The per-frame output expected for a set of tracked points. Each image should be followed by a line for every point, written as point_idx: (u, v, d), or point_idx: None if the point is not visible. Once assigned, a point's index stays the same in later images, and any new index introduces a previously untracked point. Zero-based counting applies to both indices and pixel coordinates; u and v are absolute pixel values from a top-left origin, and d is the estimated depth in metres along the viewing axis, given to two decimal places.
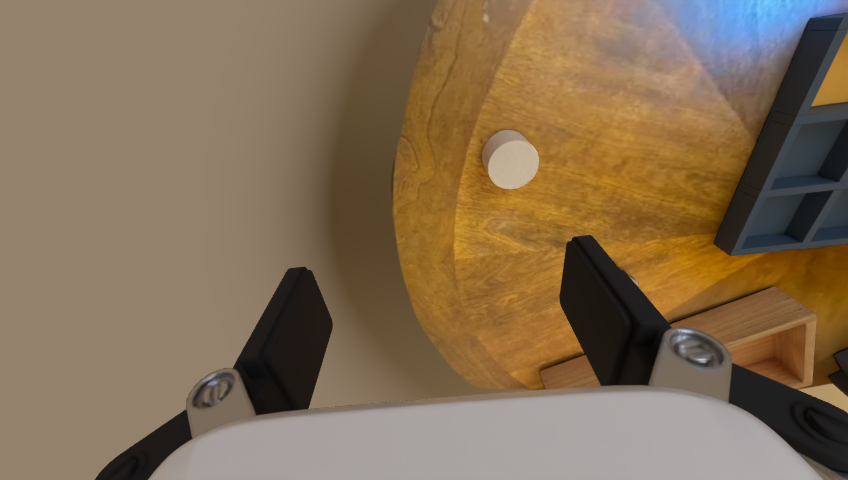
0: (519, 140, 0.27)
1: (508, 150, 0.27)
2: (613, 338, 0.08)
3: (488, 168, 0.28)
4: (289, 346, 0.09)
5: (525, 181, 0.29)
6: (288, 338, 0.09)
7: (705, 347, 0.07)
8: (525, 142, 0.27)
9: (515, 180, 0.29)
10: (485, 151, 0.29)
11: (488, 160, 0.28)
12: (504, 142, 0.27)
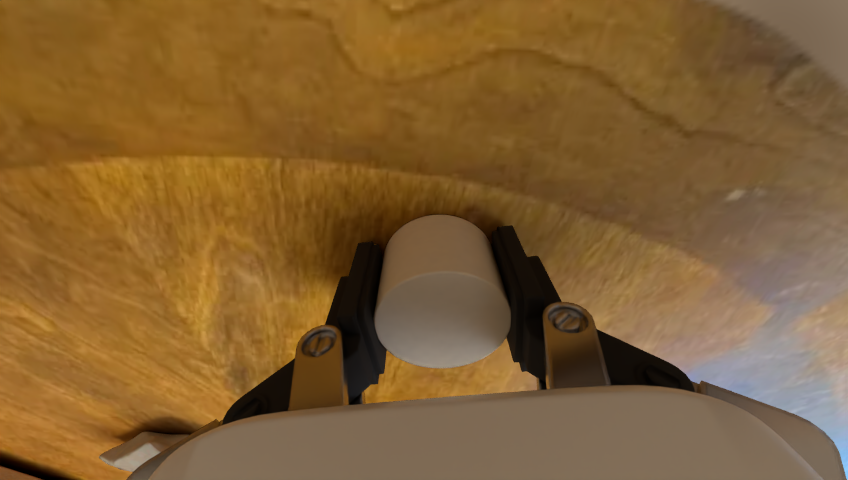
0: None
1: (487, 311, 0.10)
2: (513, 314, 0.10)
3: (436, 272, 0.09)
4: (372, 309, 0.10)
5: (399, 352, 0.11)
6: (371, 302, 0.10)
7: (573, 314, 0.08)
8: (502, 339, 0.11)
9: (400, 334, 0.10)
10: (458, 233, 0.11)
11: (458, 267, 0.09)
12: (507, 298, 0.10)
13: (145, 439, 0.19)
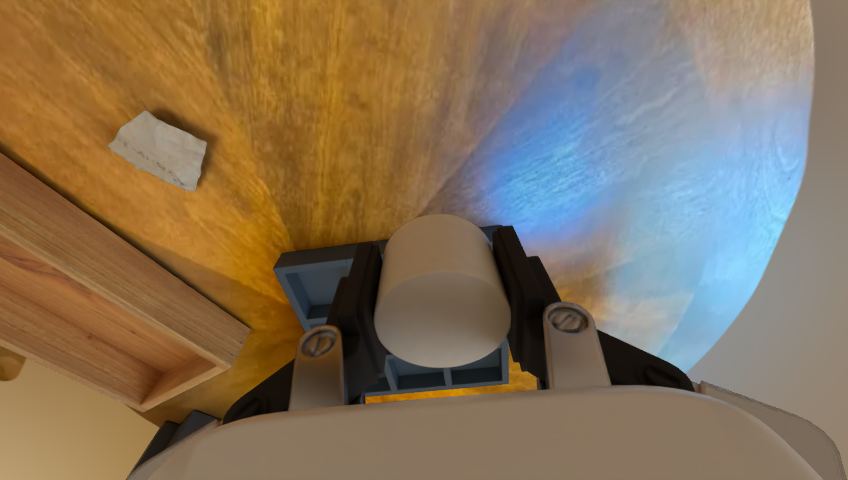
0: None
1: (487, 311, 0.10)
2: (513, 314, 0.10)
3: (436, 272, 0.09)
4: (372, 309, 0.10)
5: (399, 352, 0.11)
6: (371, 302, 0.10)
7: (573, 314, 0.08)
8: (502, 339, 0.11)
9: (399, 334, 0.10)
10: (458, 232, 0.11)
11: (458, 266, 0.09)
12: (506, 297, 0.10)
13: None
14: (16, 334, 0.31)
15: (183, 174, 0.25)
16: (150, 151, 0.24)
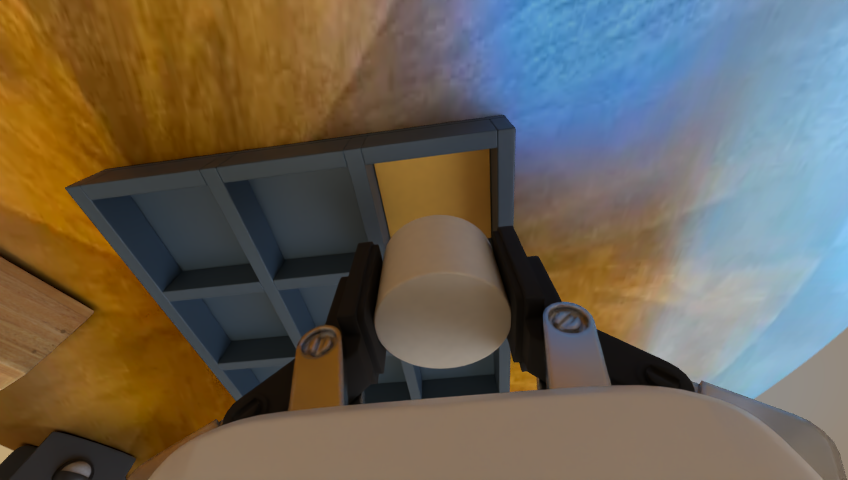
0: None
1: (487, 312, 0.10)
2: (513, 314, 0.10)
3: (436, 273, 0.09)
4: (372, 309, 0.10)
5: (399, 353, 0.11)
6: (371, 302, 0.10)
7: (573, 314, 0.08)
8: (502, 340, 0.11)
9: (400, 335, 0.10)
10: (458, 233, 0.11)
11: (458, 267, 0.09)
12: (507, 298, 0.10)
13: None
14: None
15: None
16: None
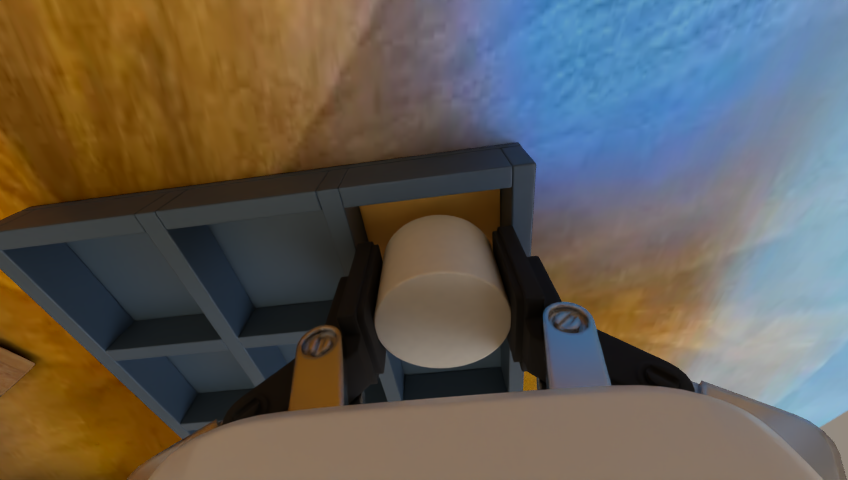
0: None
1: (487, 311, 0.10)
2: (513, 314, 0.10)
3: (436, 273, 0.09)
4: (372, 309, 0.10)
5: (399, 352, 0.11)
6: (371, 302, 0.10)
7: (573, 314, 0.08)
8: (502, 339, 0.11)
9: (400, 334, 0.10)
10: (458, 233, 0.11)
11: (458, 267, 0.09)
12: (507, 298, 0.10)
13: None
14: None
15: None
16: None
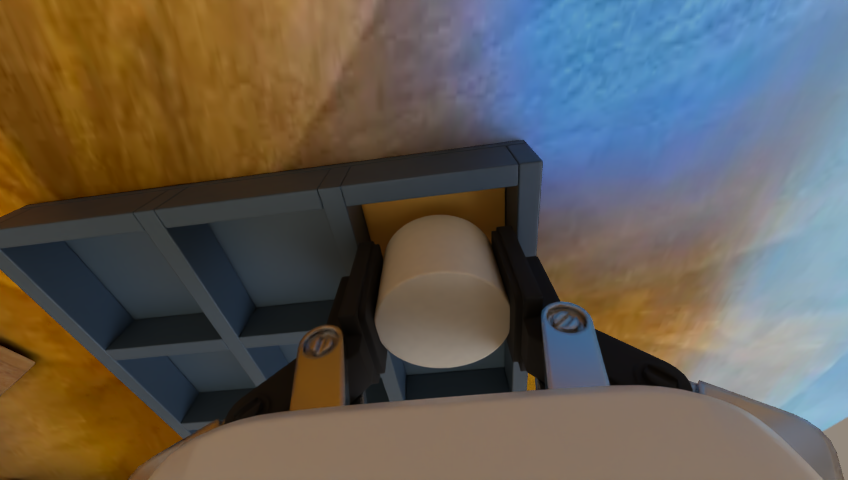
0: None
1: (487, 311, 0.10)
2: (512, 314, 0.10)
3: (437, 272, 0.09)
4: (373, 309, 0.10)
5: (400, 352, 0.11)
6: (372, 302, 0.10)
7: (571, 314, 0.09)
8: (503, 339, 0.11)
9: (400, 335, 0.10)
10: (458, 233, 0.11)
11: (459, 267, 0.09)
12: (507, 298, 0.10)
13: None
14: None
15: None
16: None
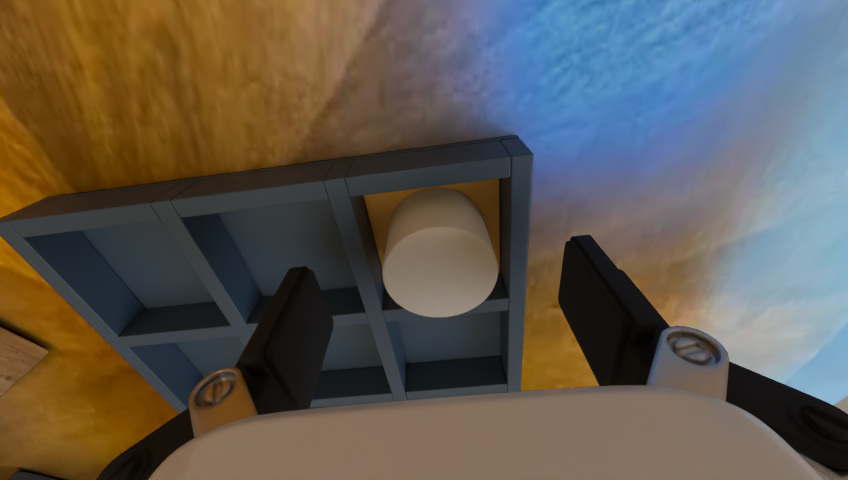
0: None
1: (477, 263, 0.12)
2: (611, 337, 0.08)
3: (434, 228, 0.11)
4: (291, 345, 0.09)
5: (403, 302, 0.13)
6: (290, 337, 0.09)
7: (702, 346, 0.07)
8: (490, 290, 0.13)
9: (404, 285, 0.12)
10: (453, 201, 0.13)
11: (452, 224, 0.11)
12: (493, 252, 0.12)
13: None
14: None
15: None
16: None
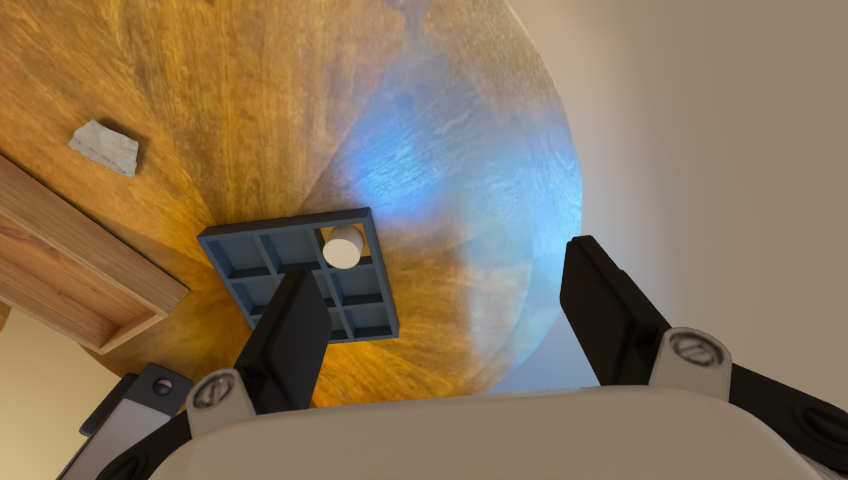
0: (359, 255, 0.39)
1: (352, 250, 0.38)
2: (613, 338, 0.08)
3: (337, 239, 0.38)
4: (289, 346, 0.09)
5: (331, 263, 0.39)
6: (288, 338, 0.09)
7: (705, 347, 0.07)
8: None
9: (330, 257, 0.39)
10: (347, 229, 0.39)
11: (342, 238, 0.38)
12: (357, 246, 0.38)
13: None
14: (0, 286, 0.40)
15: (123, 165, 0.35)
16: (97, 148, 0.34)
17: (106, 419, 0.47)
